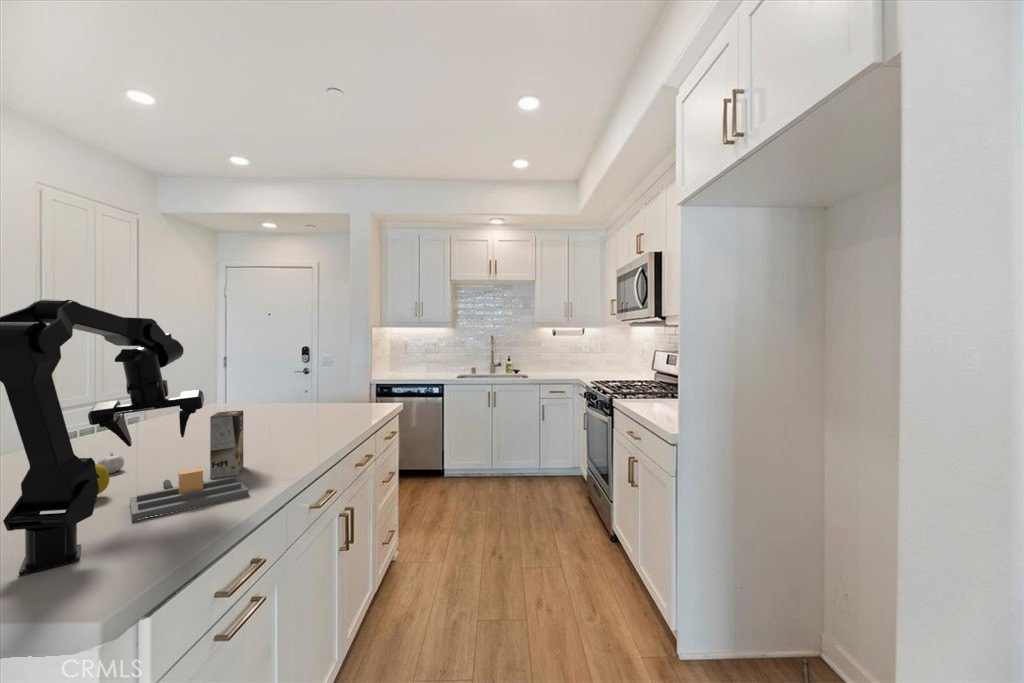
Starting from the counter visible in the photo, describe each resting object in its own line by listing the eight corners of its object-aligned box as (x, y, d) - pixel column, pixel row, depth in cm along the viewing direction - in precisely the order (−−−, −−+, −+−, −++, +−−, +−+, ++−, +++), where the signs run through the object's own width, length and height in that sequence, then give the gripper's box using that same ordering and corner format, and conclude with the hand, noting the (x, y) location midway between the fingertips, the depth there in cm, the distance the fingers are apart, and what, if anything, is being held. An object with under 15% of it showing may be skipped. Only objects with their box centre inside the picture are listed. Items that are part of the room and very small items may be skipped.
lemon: (88, 503, 93) (87, 467, 93) (68, 501, 94) (68, 465, 94) (116, 494, 99) (115, 460, 98) (97, 492, 100) (97, 458, 100)
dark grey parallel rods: (206, 489, 102) (206, 483, 102) (167, 497, 97) (167, 491, 97) (199, 478, 110) (199, 473, 110) (162, 485, 105) (162, 479, 105)
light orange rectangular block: (202, 492, 95) (202, 470, 95) (180, 497, 92) (180, 474, 92) (200, 488, 98) (200, 467, 98) (178, 493, 95) (178, 471, 95)
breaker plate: (248, 495, 98) (248, 485, 98) (132, 521, 84) (131, 509, 84) (237, 483, 106) (237, 473, 106) (130, 504, 92) (129, 493, 92)
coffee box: (238, 475, 112) (238, 415, 112) (209, 479, 109) (209, 417, 109) (244, 466, 120) (243, 409, 120) (217, 469, 118) (216, 411, 118)
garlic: (105, 470, 117) (105, 451, 117) (129, 468, 119) (129, 449, 119) (91, 476, 111) (91, 457, 111) (116, 474, 113) (116, 455, 113)
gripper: (200, 359, 102) (210, 418, 106) (95, 369, 92) (110, 434, 97) (196, 374, 93) (207, 438, 97) (79, 387, 83) (97, 457, 88)
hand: (157, 441), depth 95 cm, fingers open, 9 cm apart
